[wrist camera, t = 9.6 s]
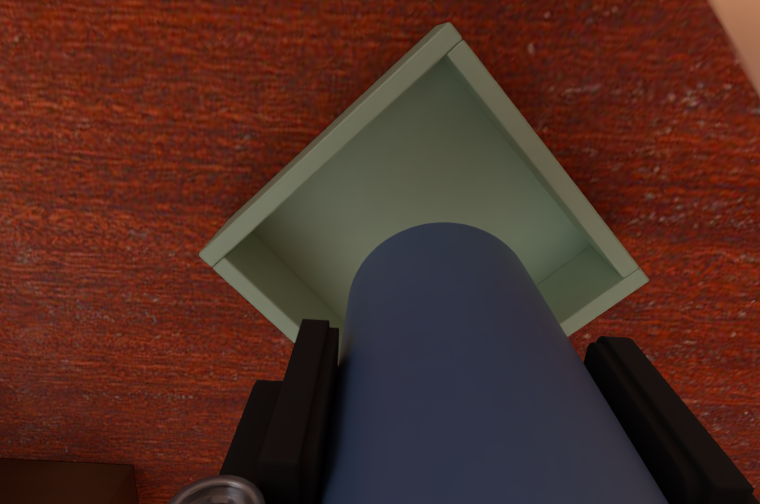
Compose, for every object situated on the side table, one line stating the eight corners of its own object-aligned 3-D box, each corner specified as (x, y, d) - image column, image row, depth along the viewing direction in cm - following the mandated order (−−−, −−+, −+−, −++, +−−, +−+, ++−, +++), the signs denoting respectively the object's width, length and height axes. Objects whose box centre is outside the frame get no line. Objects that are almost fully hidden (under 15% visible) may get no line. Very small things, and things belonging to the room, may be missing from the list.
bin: (227, 220, 20) (197, 255, 17) (437, 24, 17) (449, 20, 14) (404, 389, 23) (407, 447, 19) (607, 242, 20) (650, 280, 17)
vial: (309, 301, 14) (201, 664, 6) (454, 182, 13) (572, 430, 5) (427, 414, 16) (473, 839, 7) (569, 316, 14) (820, 695, 6)
